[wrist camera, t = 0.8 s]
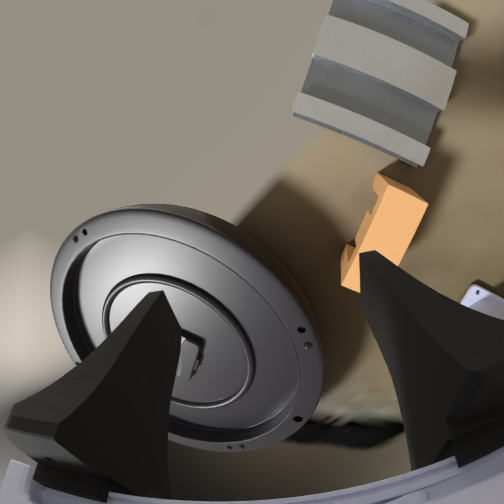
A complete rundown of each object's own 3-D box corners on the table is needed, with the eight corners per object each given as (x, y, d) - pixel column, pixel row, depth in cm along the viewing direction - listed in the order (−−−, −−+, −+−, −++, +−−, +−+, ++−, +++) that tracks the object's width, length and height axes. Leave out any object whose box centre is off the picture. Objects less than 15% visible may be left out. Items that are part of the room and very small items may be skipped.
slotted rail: (458, 28, 16) (469, 20, 14) (413, 166, 22) (421, 170, 20) (342, -22, 17) (343, -35, 15) (294, 116, 23) (290, 115, 21)
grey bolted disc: (83, 358, 42) (270, 444, 39) (61, 382, 37) (260, 478, 34) (87, 157, 29) (381, 263, 26) (45, 168, 24) (391, 298, 21)
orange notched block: (410, 188, 23) (428, 204, 18) (372, 269, 26) (378, 300, 21) (377, 172, 23) (388, 184, 18) (340, 256, 26) (341, 285, 22)
